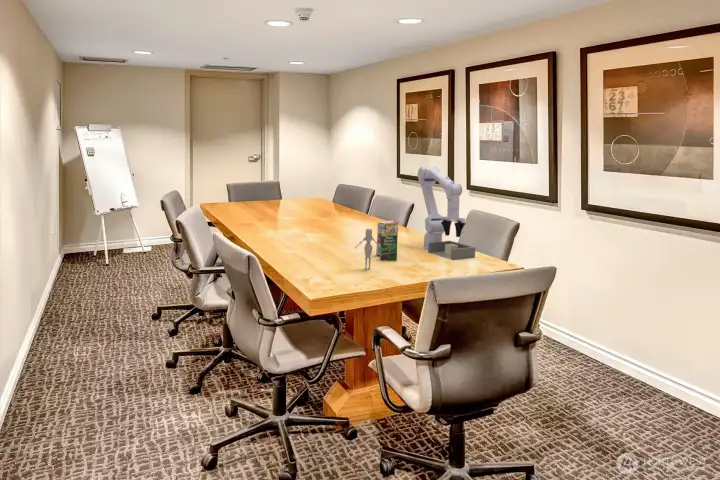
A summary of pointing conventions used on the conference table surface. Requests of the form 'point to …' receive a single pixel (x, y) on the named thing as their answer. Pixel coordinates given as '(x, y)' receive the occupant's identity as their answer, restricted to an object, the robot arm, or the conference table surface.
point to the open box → (459, 253)
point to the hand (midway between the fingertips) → (452, 236)
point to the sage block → (450, 248)
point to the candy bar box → (387, 228)
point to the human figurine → (368, 246)
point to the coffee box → (388, 246)
